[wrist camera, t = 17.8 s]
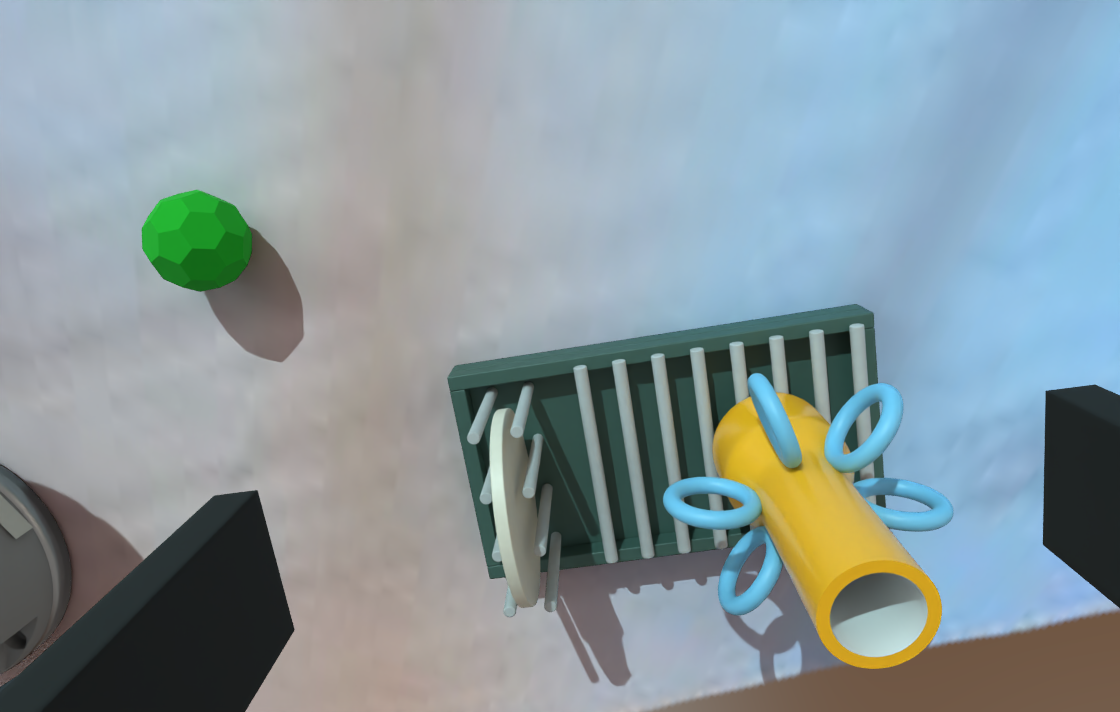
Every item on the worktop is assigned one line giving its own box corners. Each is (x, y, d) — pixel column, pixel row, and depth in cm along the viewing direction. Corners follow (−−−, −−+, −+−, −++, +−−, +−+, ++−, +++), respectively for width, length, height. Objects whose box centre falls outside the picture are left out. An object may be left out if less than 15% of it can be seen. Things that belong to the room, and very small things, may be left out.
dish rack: (494, 557, 44) (466, 681, 34) (454, 365, 41) (409, 435, 31) (871, 507, 43) (964, 621, 32) (857, 303, 40) (955, 355, 29)
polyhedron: (192, 290, 41) (141, 306, 36) (162, 199, 40) (106, 205, 35) (278, 271, 40) (239, 286, 36) (251, 180, 39) (206, 183, 35)
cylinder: (781, 582, 41) (889, 816, 26) (620, 486, 40) (640, 675, 25) (925, 402, 38) (1136, 553, 23) (757, 294, 37) (868, 380, 22)
